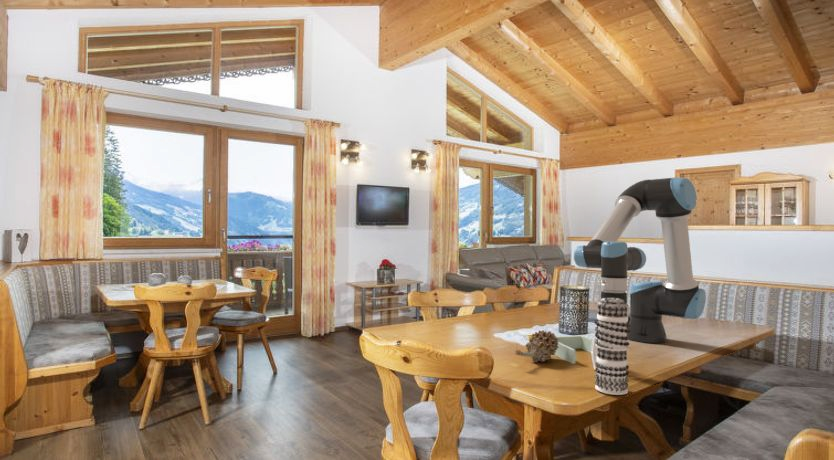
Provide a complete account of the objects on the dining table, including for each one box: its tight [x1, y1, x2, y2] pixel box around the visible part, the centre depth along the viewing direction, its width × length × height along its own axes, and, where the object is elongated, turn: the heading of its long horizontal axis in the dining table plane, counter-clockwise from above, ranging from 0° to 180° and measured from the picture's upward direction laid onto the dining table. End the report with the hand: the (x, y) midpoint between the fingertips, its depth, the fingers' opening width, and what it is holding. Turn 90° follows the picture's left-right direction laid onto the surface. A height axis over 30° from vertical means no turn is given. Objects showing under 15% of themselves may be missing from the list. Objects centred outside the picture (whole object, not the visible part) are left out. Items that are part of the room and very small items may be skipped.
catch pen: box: [554, 335, 593, 365], centre depth 170 cm, size 15×19×4 cm
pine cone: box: [514, 330, 559, 364], centre depth 159 cm, size 22×10×10 cm, turn 138°
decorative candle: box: [593, 298, 630, 396], centre depth 133 cm, size 9×9×25 cm
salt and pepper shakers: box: [590, 337, 597, 370], centre depth 154 cm, size 12×4×11 cm, turn 140°
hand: (613, 367), depth 150 cm, fingers closed
